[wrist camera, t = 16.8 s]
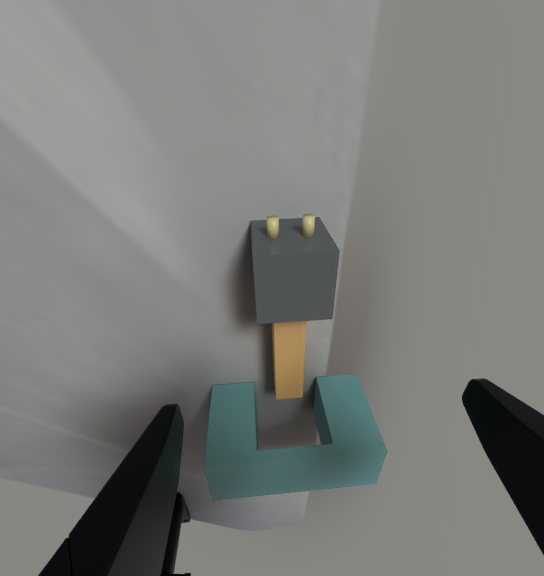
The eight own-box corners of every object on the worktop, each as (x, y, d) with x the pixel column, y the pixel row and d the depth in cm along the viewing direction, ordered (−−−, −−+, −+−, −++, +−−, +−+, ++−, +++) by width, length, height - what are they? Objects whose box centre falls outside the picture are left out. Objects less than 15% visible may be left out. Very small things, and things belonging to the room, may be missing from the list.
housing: (350, 407, 28) (376, 483, 22) (219, 418, 27) (213, 500, 22) (356, 373, 25) (387, 450, 20) (212, 385, 25) (203, 468, 19)
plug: (309, 370, 25) (321, 420, 21) (261, 374, 24) (264, 425, 21) (320, 200, 17) (341, 229, 13) (249, 203, 17) (250, 235, 13)
